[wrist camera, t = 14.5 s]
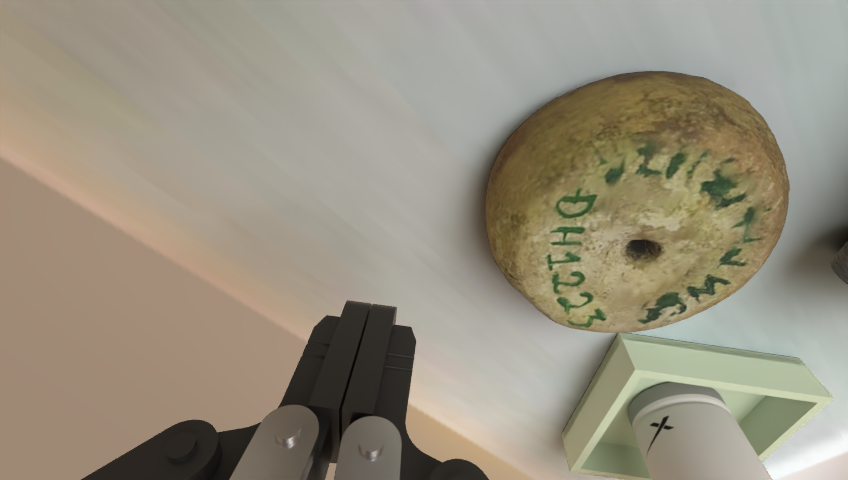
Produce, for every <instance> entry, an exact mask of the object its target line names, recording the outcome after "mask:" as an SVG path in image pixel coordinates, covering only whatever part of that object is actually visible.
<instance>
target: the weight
mask: <svg viewBox="0 0 848 480" xmlns="http://www.w3.org/2000/svg"><path fill="white" fill-rule="evenodd" d="M789 190H790V187H789V179H788V176H787V172H786V164H785V161H784V158H783V155H782V153H781V151H780V148H779V146H778V144H777V142H776V139H775V137H774V135H773V133H772V132H771V130H770V128H769V127H768V125H767V123H766V121H765V120H764V118H763V117H762V116H761V115H760V114H759V113H758V112H757V111H756V110H755V109H754V108H753V107H752V106H751V104H750V103H749V102H748V101H747V100H746V99H745V98H743V97H741V96H740V95H738V94H736V93H735V92H733V91H731V90H729V89H727V88H725V87H723V86H721V85H719V84H717V83H715V82H713V81H711V80H709V79H706V78H704V77H697V76H691V75H687V74H682V73H675V72H666V71H644V72H634V73H626V74H619V75H616V76H612V77H608V78H605V79H602V80H599V81H596V82H593V83H590V84H588V85H586V86H583V87H580V88H577V89H575V90H573V91H571V92H569V93H566V94H564V95H562V96H560V97H558V98H556V99H554V100H553V101H551V102H550V103H548V104H547V105H545V106H544V107H542V108H541V109H539V110H538V111H537V112H535V113H534V114H533V115H532V116H531V117H530V118H528V119H527V120H526V121H525V122H524V123H523V124H522V125H521V126H520V127H519V128H518V129H517V130H516V131H515V132H514V133H513V134H512V135H511V136H510V138H509V139H508V141H507V142H506V144H505V145H504V147H503V148H502V150H501V152H500V154H499V156H498V158H497V160H496V162H495V164H494V166H493V169H492V171H491V174H490V177H489V182H488V188H487V194H486V207H485V225H486V230H487V235H488V240H489V244H490V248H491V251H492V254H493V257H494V259H495V262H496V263H497V265H498V266H499V268H500V269H501V271H502V272H503V273H504V275H505V277H506V278H507V280H508V281H509V282H510V284H511V285H512V286H513V287H514V288H515V289H517V290H518V291H519V292H521V293H522V294H523V295H524V296H525V297H526V298H527V299H528V300H529V301H530V302H531V303H532V304H533V305H534V306H535V307H536V308H537V309H538V310H539V311H541V312H542V313H543V314H544V315H545V316H547V317H548V318H549V319H551V320H552V321H554V322H556V323H559V324H561V325H564V326H567V327H570V328H574V329H580V330H586V331H593V332H604V333H628V332H637V331H644V330H649V329H655V328H659V327H663V326H666V325H669V324H672V323H675V322H678V321H681V320H684V319H687V318H689V317H691V316H693V315H695V314H697V313H700V312H702V311H704V310H706V309H708V308H710V307H712V306H714V305H716V304H717V303H719V302H720V301H722V300H724V299H725V298H727V297H729V296H730V295H732V294H733V293H735V292H736V291H737V290H739V289H740V288H741V287H742V286H744V285H745V284H746V283H747V282H748V281H749V280H750V279H751V277H752V276H753V275H754V274H755V273H756V272H757V271H758V270H759V269H760V268H761V267H762V265H763V264H764V262H765V261H766V259H767V258H768V257H769V255H770V253H771V252H772V250H773V248H774V247H775V245H776V244H777V242H778V239H779V237H780V235H781V232H782V230H783V226H784V223H785V219H786V215H787V209H788V199H789Z"/></svg>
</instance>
